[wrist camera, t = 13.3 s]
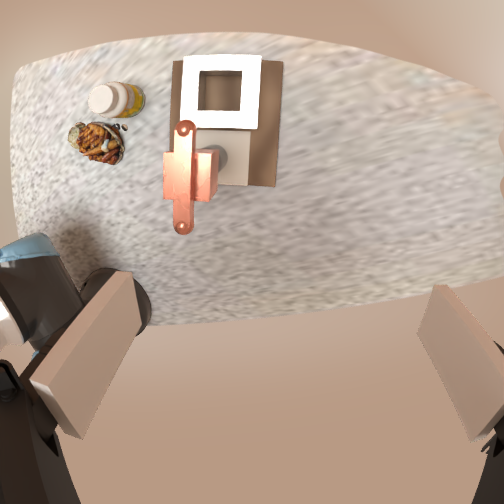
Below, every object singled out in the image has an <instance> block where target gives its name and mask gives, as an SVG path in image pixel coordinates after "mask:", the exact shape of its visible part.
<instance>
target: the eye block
mask: <svg viewBox="0 0 504 504" xmlns="http://www.w3.org/2000/svg"><path fill="white" fill-rule="evenodd" d="M261 69H262V59H261V56H257V55H195V56H184V61H183V76H182V93H181V115H180V121H181V120H184V119H188V120H191V121H193V122H194V123H195V125H196V127H219V128H247V129H258V118H259V102H260V85H261ZM207 76H242V92H241V110H240V112H239V111H205V94H206V77H207Z"/></svg>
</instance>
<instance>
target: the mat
mask: <svg viewBox="0 0 504 504" xmlns="http://www.w3.org/2000/svg"><path fill="white" fill-rule="evenodd" d="M250 135H251V132H248V131H222V130H197V132H196V149H201V148H204V147H206V146H209V145H219V146H221V147H223V148H224V149H225V151H226V152H227V156H228V160H227V163H226V165H225V167H224V168H223V169H222V170H221V171H220V172H219V173H218V184H223V185H242V186H248V171H249V152H250Z"/></svg>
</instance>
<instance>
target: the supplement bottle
mask: <svg viewBox="0 0 504 504" xmlns="http://www.w3.org/2000/svg"><path fill="white" fill-rule="evenodd" d="M144 101H145V97H144V94H143V91H142V90H141V89H140V88H139V87H137V86H134V85H129V84H124V83H120V82H108V83H106V84H104V85H99V86H97V87H95V88H94V89H93V90H92V91H91V93H90V95H89V98H88V105H89V108H90V110H91V111H92V112H94V113H97V114H99V115H100V116H102V117H104V118H129V117H133V116H135V115H136V114H138V113H139V112H140V111H141V109H142V108H143V106H144Z"/></svg>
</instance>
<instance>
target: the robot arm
mask: <svg viewBox="0 0 504 504" xmlns="http://www.w3.org/2000/svg"><path fill="white" fill-rule="evenodd" d="M150 316H151V306H150V302H149V299H148V297H147V294H146V293H145V291H144V290H143V288H142V287H141V286H140V285H139V283H138V282H137V281H135V280H134V279H133V275H132V272H124V271H119V270H116V269H110V268H104V269H99V270H97V271H95V272H93V273H92V274H91V275H90V276H89V277H88V278H87V279H86V280H85V281H84V283H83V285H82V287H81V291H80V293H79V292H78V290H77V289H76V287H75V285H74V283H73V281H72V280H71V278H70V276H69V274H68V272H67V270H66V268H65V266H64V265H63V263H62V261H61V259H60V254H59V253H58V252H56V250H55V248H54V246H53V244H52V242H51V240H50V239H49V237H48V236H47V235H46V234H44V233H41V232H38V233H34V234H31V235H29V236H26V237H24V238H21V239H19V240H17V241H15V242H13V243H11V244H8V245H6V246H5V247H3V248H2V249H0V351H1V350H2V349H3V348H4V347H5V346H6V345H9V344H12V345H18V346H22V345H23V344H24V343H25V342H26V341H27V340H28V341H29V342H30V344H31V345H32V347H33V348H34V350H35V352H34V353H33V355H32V360H31V362H30V363H29V365H28V366H27V367H26V369H25V370H24V371H23V373H22V374H21V375H20V377H18V375H17V373H16V371H15V370H14V368H13V366H12V364H11V363H9V362H8V361H7V360H2V359H1V360H0V504H81V502H80V500H79V498H78V495H77V493H76V490H75V488H74V485H73V482H72V480H71V477H70V474H69V471H68V468H67V465H66V462H65V459H64V456H63V453H62V449H61V446H60V442H59V439H58V436H57V434H56V432H55V428H56V426H57V424H59V426H60V427H61V428H62V430H63V431H64V433H66V434H68V435H71V436H74V437H77V438H79V439H82V440H83V438H84V436H85V434H86V432H87V430H88V428H89V425H90V423H91V421H92V419H93V417H94V415H95V413H96V411H97V409H98V407H99V405H100V403H101V401H102V399H103V397H104V395H105V393H106V391H107V389H108V387H109V385H110V383H111V381H112V379H113V377H114V375H115V373H116V371H117V369H118V367H119V365H120V364H121V362H122V360H123V358H124V356H125V354H126V352H127V351H128V349H129V347H130V345H131V343H132V341H133V340H134V338H135V337H136V336H137V335H139V334H140V333H141V332H142V331H143V330H144V329H145V327H146V325H147V323H148V322H149V319H150ZM417 335H418V337H419V339H420V340H421V342H422V344H423V346H424V347H425V349H426V351H427V353H428V355H429V357H430V358H431V360H432V362H433V364H434V366H435V368H436V370H437V372H438V374H439V376H440V378H441V380H442V382H443V384H444V386H445V388H446V390H447V392H448V394H449V396H450V398H451V400H452V402H453V404H454V406H455V409H456V411H457V413H458V415H459V417H460V419H461V422H462V424H463V426H464V428H465V431H466V433H467V435H468V438H469V440H470V443H472V442H475V441H477V440H480V439H483V438H485V437H486V436H487V435H488V434H489V433H490V431H491V430H492V429H493V428H494V429H495V431H496V434H495V435H494V436H493V437H492V438H491V439H490V440H489V441H488V442H487V443H486V445H485V446H484V447H483V448H482V450H481V452H483V451H484V450H485V449H486V448H487V447H488V446H490V448H489V450H488V451H487V452H486V454H488V455H487V459H486V463H485V466H484V469H483V473H482V476H481V479H480V482H479V485H478V488H477V490H476V493H475V496H474V499H473V502H472V504H504V349H503V348H502V347H501V346H500V345H498V344H497V343H496V342H495V341H493V340H492V339H491V338H490V336H489V335H488V334H487V332H486V331H485V330H484V328H483V327H482V326H481V325H480V324H479V322H478V321H477V320H476V318H475V317H474V316H473V315H472V313H471V312H470V311H469V310H468V309H467V307H465V305H464V304H463V303H462V302H461V300H460V299H459V298H458V297H457V296H456V295H455V293H454V292H453V291H452V290H451V289H450V288H449V287H448V285H434V287H433V290H432V293H431V296H430V299H429V302H428V305H427V308H426V311H425V314H424V317H423V319H422V322H421V325H420V327H419V330H418V332H417Z"/></svg>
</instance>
